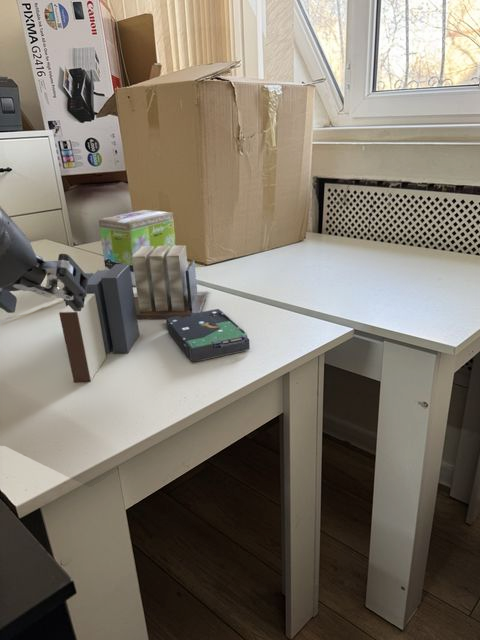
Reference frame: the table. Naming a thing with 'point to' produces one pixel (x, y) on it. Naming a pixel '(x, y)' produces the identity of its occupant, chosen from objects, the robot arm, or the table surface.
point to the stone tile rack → (165, 283)
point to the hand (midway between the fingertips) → (46, 305)
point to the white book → (83, 339)
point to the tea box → (134, 235)
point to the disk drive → (207, 335)
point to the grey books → (115, 307)
